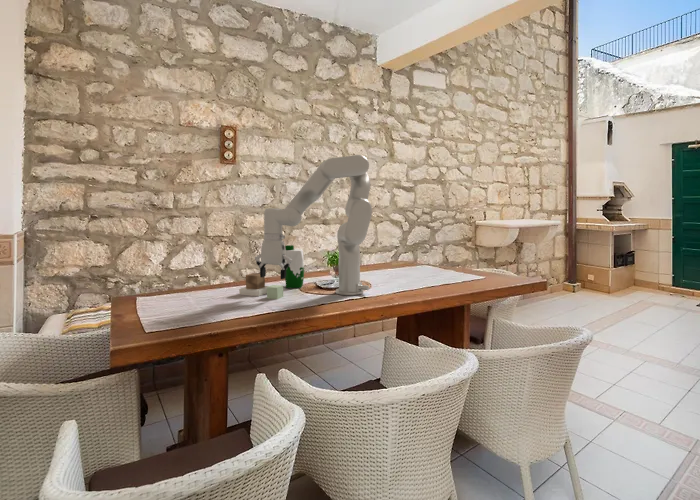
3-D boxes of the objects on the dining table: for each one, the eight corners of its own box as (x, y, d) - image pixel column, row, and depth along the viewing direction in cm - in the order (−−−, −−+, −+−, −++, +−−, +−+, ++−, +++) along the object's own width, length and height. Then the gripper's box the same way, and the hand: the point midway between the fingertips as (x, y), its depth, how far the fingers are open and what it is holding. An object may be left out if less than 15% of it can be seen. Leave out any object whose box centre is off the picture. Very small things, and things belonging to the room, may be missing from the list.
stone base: (270, 291, 186) (270, 286, 186) (259, 296, 177) (258, 290, 177) (252, 290, 190) (251, 284, 189) (239, 294, 180) (239, 289, 180)
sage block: (283, 296, 176) (283, 285, 175) (277, 299, 171) (277, 287, 171) (273, 296, 178) (272, 284, 177) (267, 298, 173) (266, 287, 172)
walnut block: (264, 286, 185) (264, 273, 184) (257, 289, 179) (257, 275, 179) (253, 285, 187) (253, 273, 186) (245, 288, 181) (245, 275, 181)
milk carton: (287, 284, 202) (286, 244, 200) (305, 284, 202) (304, 244, 200) (283, 288, 194) (282, 246, 191) (302, 288, 193) (302, 246, 191)
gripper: (295, 238, 172) (295, 278, 174) (260, 236, 178) (260, 275, 180) (287, 239, 165) (286, 280, 167) (250, 237, 171) (250, 277, 173)
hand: (272, 277), depth 173 cm, fingers open, 9 cm apart
